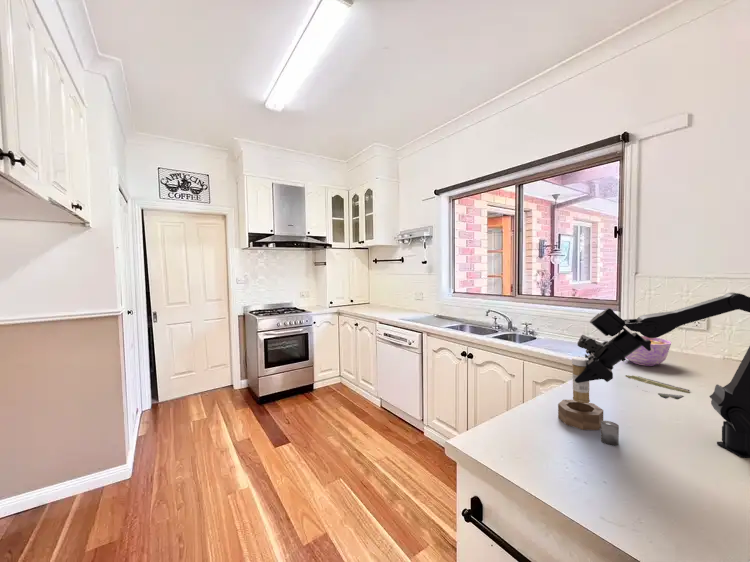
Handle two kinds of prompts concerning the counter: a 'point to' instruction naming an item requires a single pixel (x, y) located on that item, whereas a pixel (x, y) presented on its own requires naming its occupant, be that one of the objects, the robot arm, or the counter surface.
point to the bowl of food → (651, 352)
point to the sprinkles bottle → (581, 388)
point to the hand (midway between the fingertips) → (575, 379)
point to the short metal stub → (610, 433)
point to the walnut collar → (580, 414)
